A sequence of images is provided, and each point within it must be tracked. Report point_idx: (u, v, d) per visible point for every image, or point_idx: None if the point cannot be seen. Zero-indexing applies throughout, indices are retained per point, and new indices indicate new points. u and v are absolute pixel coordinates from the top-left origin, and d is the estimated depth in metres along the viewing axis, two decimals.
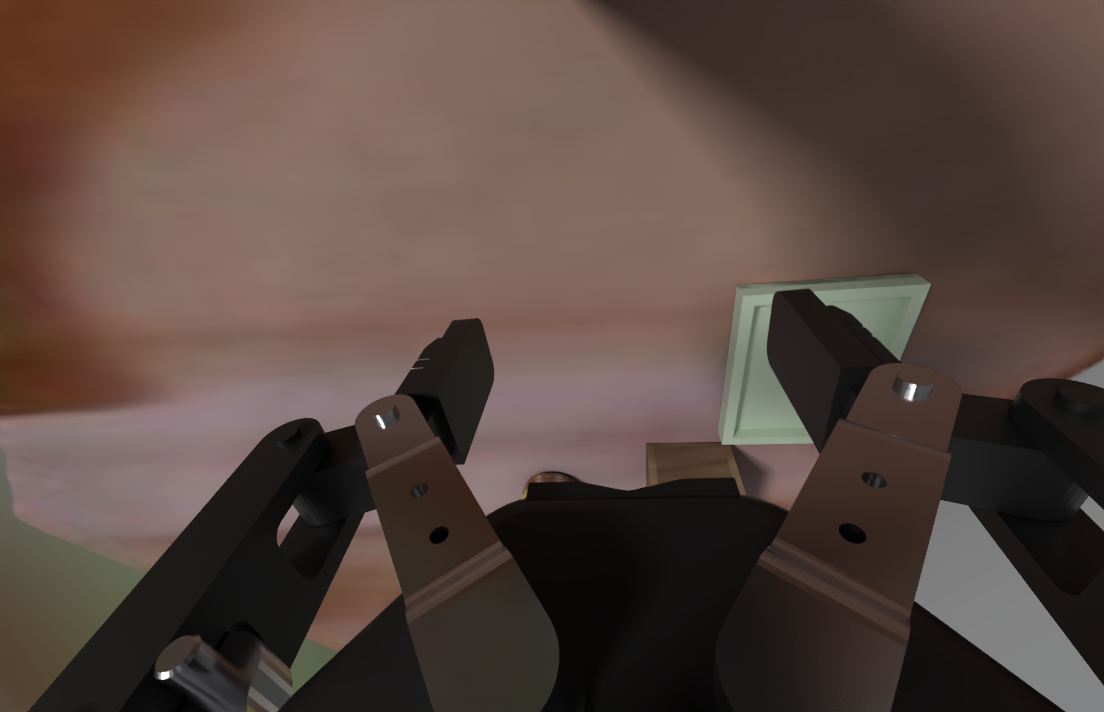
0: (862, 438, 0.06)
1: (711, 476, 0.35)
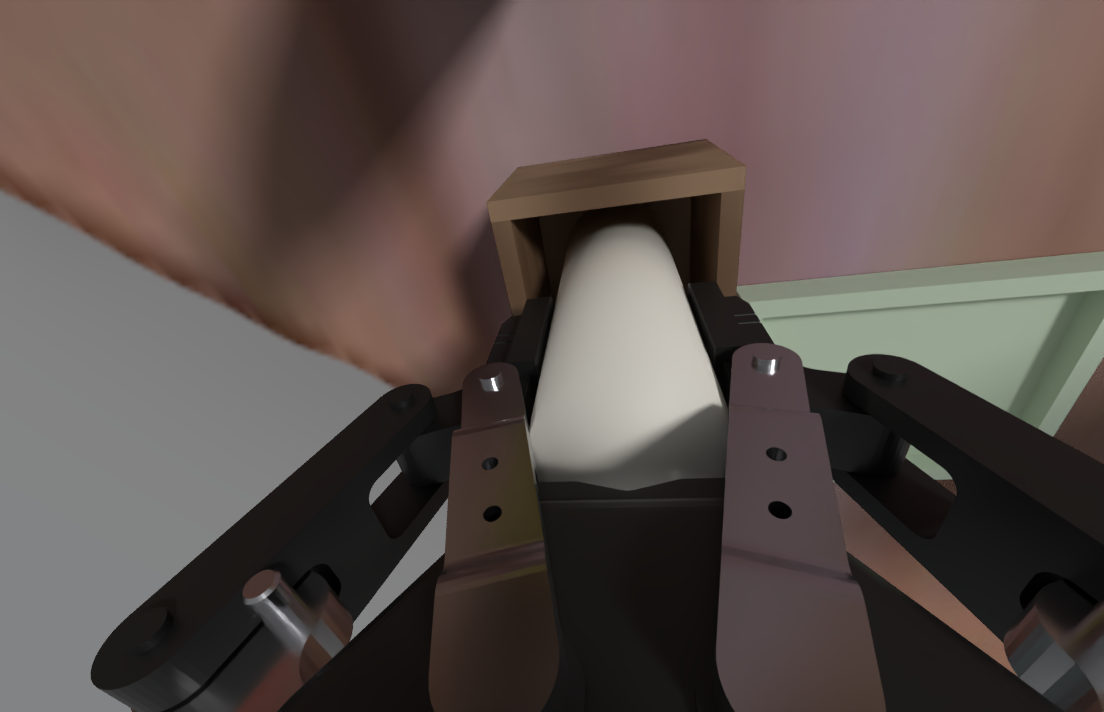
0: (753, 418, 0.06)
1: None
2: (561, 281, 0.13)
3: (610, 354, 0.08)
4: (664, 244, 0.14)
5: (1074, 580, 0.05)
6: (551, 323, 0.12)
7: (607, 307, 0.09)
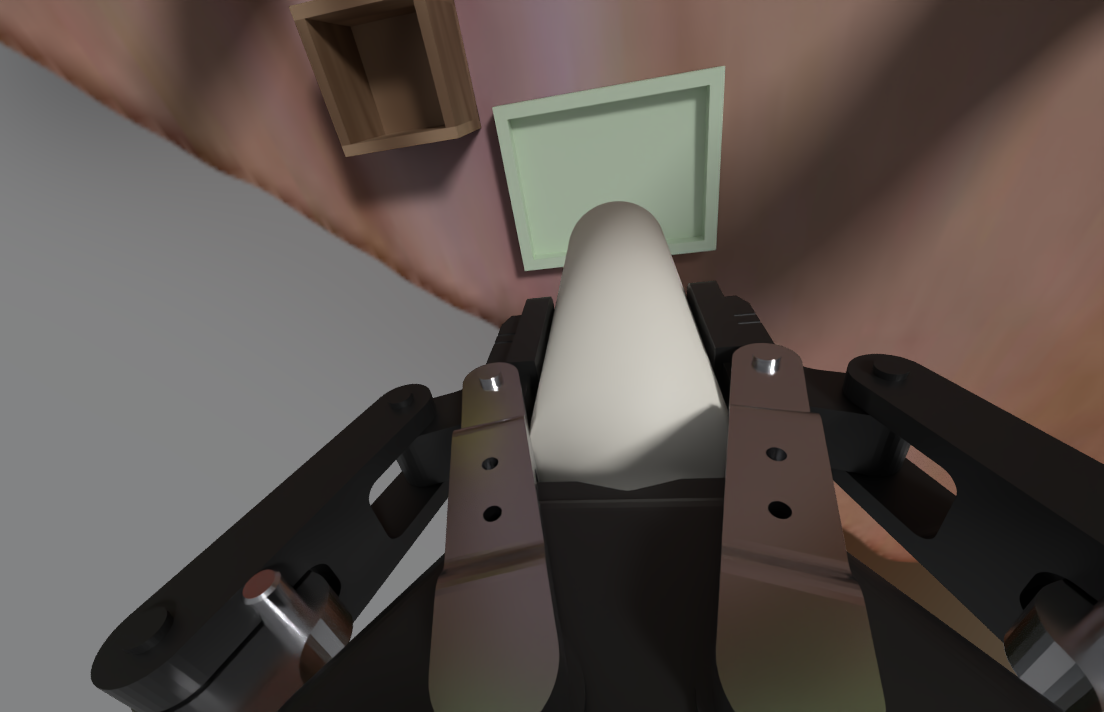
0: (754, 418, 0.06)
1: (456, 91, 0.25)
2: (561, 282, 0.13)
3: (610, 356, 0.08)
4: (664, 245, 0.14)
5: (1074, 580, 0.05)
6: (551, 325, 0.12)
7: (607, 309, 0.09)
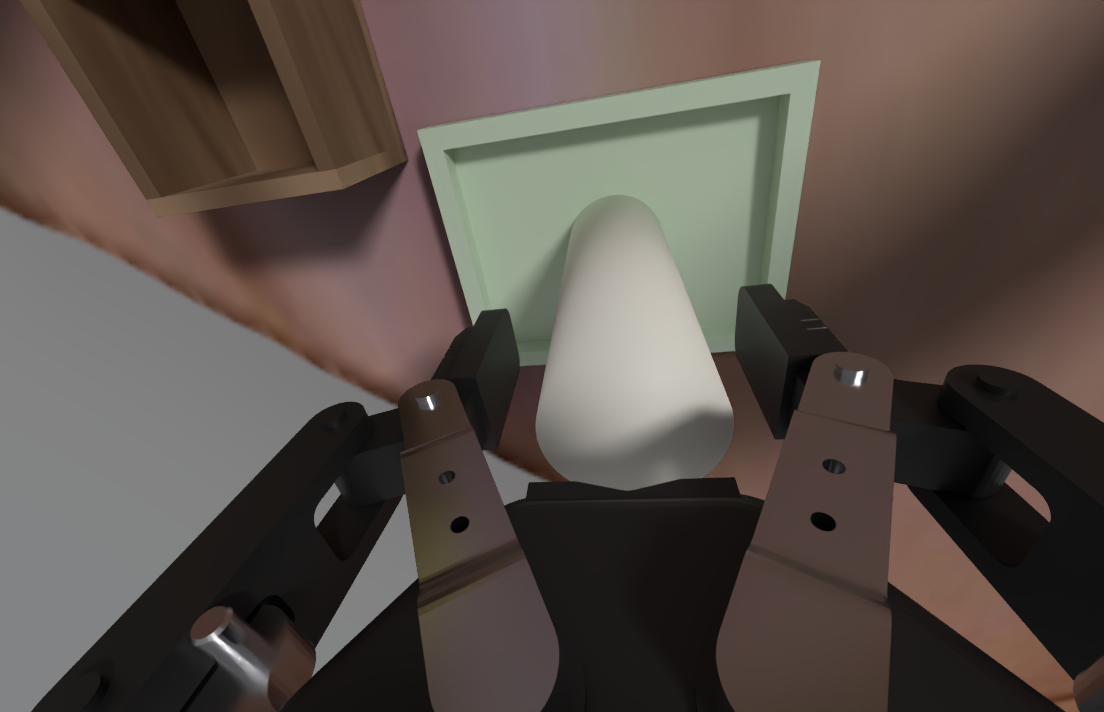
0: (817, 427, 0.06)
1: (342, 105, 0.14)
2: (565, 270, 0.14)
3: (614, 329, 0.09)
4: (661, 235, 0.15)
5: None
6: (557, 308, 0.12)
7: (610, 289, 0.10)
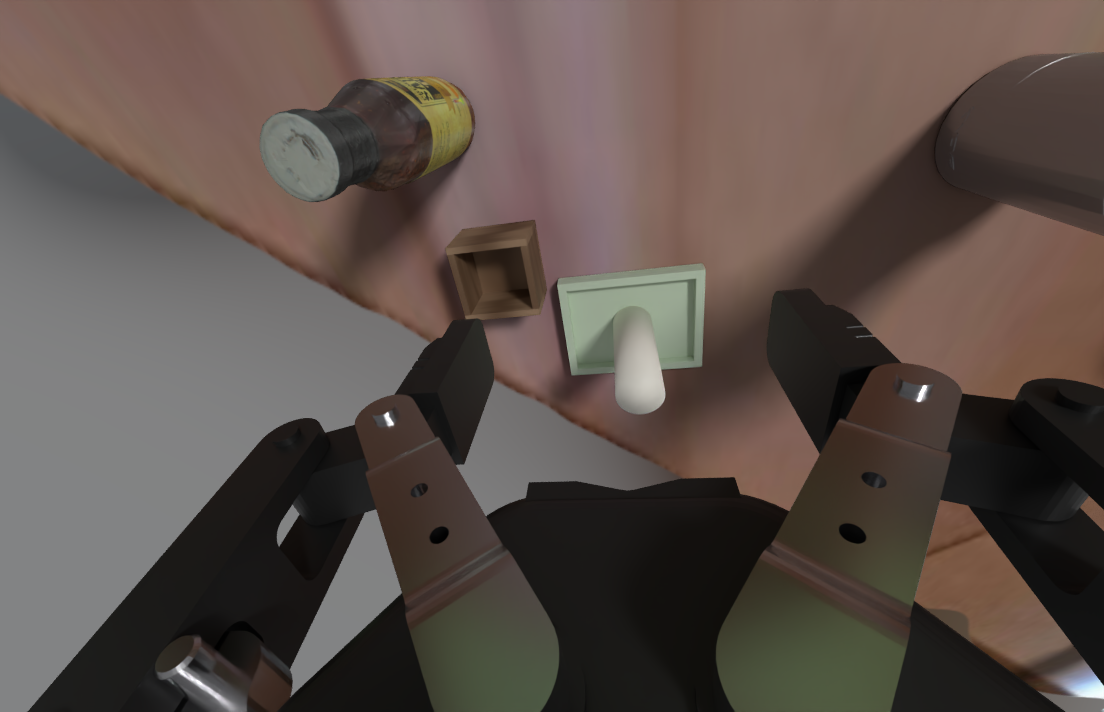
0: (862, 438, 0.06)
1: (538, 284, 0.40)
2: (616, 342, 0.40)
3: (635, 369, 0.35)
4: (650, 328, 0.41)
5: None
6: (615, 358, 0.39)
7: (634, 356, 0.36)
